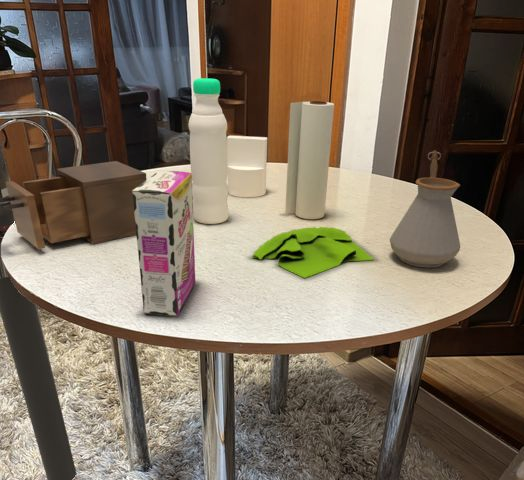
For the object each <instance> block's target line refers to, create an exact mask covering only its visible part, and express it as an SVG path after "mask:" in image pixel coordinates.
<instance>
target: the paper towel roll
mask: <svg viewBox="0 0 524 480" xmlns="http://www.w3.org/2000/svg"><path fill="white" fill-rule="evenodd" d="M289 106H290V107H289V124H288V125H289V126H288V144H287V145H288V148H287V164H286V165H287V166H286V168H287V169H286V170H287V171H286V188H285V189H286V190H285V191H286V192H285V207H284V208H285V210H284V214H285V215H289V214H293V213H295V216H296V217H298V218H301V219H305V220H320V219H323V217H325V212H326V201H327V189H328V178H329V169H330V168H329V167H330V157H331V147H332V136H333V123H334V113H335V103H332V102H328V101H321V100H311V101H298V102H296V101H295V102H290V105H289Z"/></svg>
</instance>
